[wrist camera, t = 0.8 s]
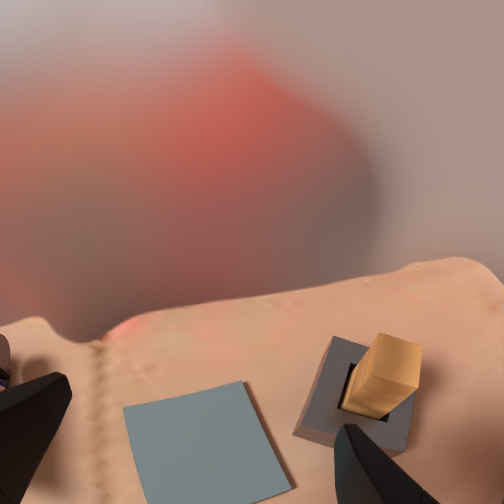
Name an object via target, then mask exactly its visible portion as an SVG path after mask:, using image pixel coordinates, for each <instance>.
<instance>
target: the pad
mask: <svg viewBox="0 0 504 504" xmlns="http://www.w3.org/2000/svg"><path fill="white" fill-rule="evenodd" d="M123 411H124V416H125V421H126V426H127V431H128V435H129V440H130V444H131V448H132V452H133V456H134V460H135V464H136V467H137V471H138V475H139V478H140V481H141V485H142V488H143V491H144V494H145V497H146V500H147V503H148V504H251V503H254V502H257V501H260V500H263V499H266V498H269V497H272V496H274V495H277V494H280V493H282V492H285V491H288V490H290V489H292V488H291V486H290V484H289V482H288V480H287V478H286V476H285V474H284V472H283V470H282V468H281V466H280V464H279V462H278V460H277V458H276V456H275V454H274V451H273V449H272V447H271V445H270V443H269V441H268V439H267V437H266V435H265V432H264V430H263V428H262V426H261V424H260V421H259V419H258V417H257V415H256V413H255V410H254V408H253V406H252V404H251V401H250V399H249V397H248V394H247V392H246V390H245V387H244V385H243V383H242V380H240V381H237V382H234V383H230V384H227V385H223V386H219V387H216V388H212V389H208V390H204V391H200V392H196V393H192V394H188V395H183V396H179V397H175V398H170V399H165V400H160V401H155V402H150V403H144V404H139V405H133V406H127V407H123Z"/></svg>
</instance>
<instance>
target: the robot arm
mask: <svg viewBox="0 0 504 504" xmlns="http://www.w3.org/2000/svg"><path fill="white" fill-rule="evenodd" d="M71 399H72V391H71V388H70V385H69V382H68V379H67V377H66V375H64V374H61V373H59V372H53V373H51V374H48V375H45V376H43V377H40V378H37V379H34V380H31V381H29V382H26V383H23V384H20V385H17V386H14V387H11V388H8V389H5V390H2V391H0V504H20V503H21V501H22V499H23V496H24V494H25V492H26V490H27V488H28V486H29V484H30V482H31V480H32V478H33V476H34V474H35V472H36V470H37V468H38V466H39V464H40V462H41V460H42V458H43V456H44V454H45V453H46V451H47V449H48V447H49V445H50V443H51V441H52V440H53V438H54V436H55V434H56V432H57V430H58V428H59V426H60V424H61V421H62V419H63V417H64V414H65V412H66V410H67V408H68V405H69V403H70V401H71ZM334 464H335V488H336V495H337V502H338V504H440V503H439V502H438V501H437V500H436V499H434V498H433V497H432V496H431V495H430V494H429V493H427V492H426V491H425V490H423V488H422V487H421V486H420V485H419V484H418V483H416V482H415V481H414V480H413V479H412V478H411V477H410V476H409V475H408V474H407V473H406V472H405V471H404V470H403V469H402V468H400V467H399V466H398V465H397V464H396V463H395V462H394V461H393V460H392V459H391V458H390V457H389V456H388V455H387V454H386V453H385V452H384V451H383V450H382V449H381V448H380V447H379V446H378V445H377V444H376V443H375V442H374V441H373V440H372V439H371V438H370V437H369V436H368V435H367V434H366V433H365V432H364V431H363V430H362V429H361V428H360V427H359V426H358V425H357V424H355V423H345V424H342V425H341V427H340V429H339V432H338V434H337V436H336V438H335V441H334Z"/></svg>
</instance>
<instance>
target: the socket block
mask: <svg viewBox="0 0 504 504" xmlns="http://www.w3.org/2000/svg"><path fill="white" fill-rule="evenodd" d="M368 349H369V347H366V346H363V345H360V344H357V343H354V342H351V341H348V340H345V339H342V338H339V337H336V336H333V337H332V339H331V341H330V343H329V345H328V347H327V349H326V351H325V353H324V355H323V358H322V361H321V364H320V366H319V369H318V372H317V375H316V377H315V380H314V383H313V385H312V388H311V390H310V393H309V396H308V398H307V401H306V403H305V406H304V408H303V410H302V413H301V415H300V418H299V420H298V422H297V425H296V427H295V429H294V432H293V434H292V435H294V436H297V437H300V438H303V439H306V440H309V441H312V442H315V443H319V444H322V445H325V446H329V447H332V448H334V441H335V438H336V436H337V434H338V432H339V429H340V427H341V425H342V424H345V423H355V424H357V425H358V426H359V427H360V428H361V429H362V430H363V431H364V432H365V433H366V434H367V435H368V436H369V437H370V438H371V439H372V440H373V441H374V442H375V443H376V444H377V445H378V446H379V447H380V448H381V449H382V450H383V451H384V452H385V453H386V454H387V455H388V456H389V457H390V458H391V457H394V456H396V455H398V454H401V453H403V452H405V448H406V444H407V439H408V434H409V429H410V424H411V418H412V412H413V406H414V399H415V392H416V390H415V391H414V392H413V393H412V394H411V395H410V396H408V397H407V398H406V399H405V400H404V401H402V402H401V403H400V404H399V405H397V406H396V407H395V408H394V409H392V410H391V411H390V412H388V413H387V414H386V415H384V416H383V417H382V418H380V419H379V420H374V419H371V418H367V417H363V416H360V415H356V414H353V413H349V412H346V411H343V410H339V409H337V406H338V403H339V400H340V396H341V393H342V390H343V387H344V383H345V381H346V379H347V378H348V377H349V375H350V374H351V373H352V371H353V370H354V369H355V367H356V366H357V365H358V363H359V362H360V360H361V359H362V358H363V356H364V355H365V353H366V352H367V351H368Z"/></svg>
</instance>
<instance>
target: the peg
mask: <svg viewBox="0 0 504 504" xmlns="http://www.w3.org/2000/svg"><path fill="white" fill-rule="evenodd" d="M421 352H422V346H421V345H418V344H415V343H411V342H408V341H405V340H402V339H399V338H396V337H392V336H389V335H386V334H383V333H379V334H378V336H377V337H376V339H375V340H374V342H373V343H372V345H371V346H370V348H369V349H368V351H367V352H366V353H365V355H364V356H363V358H362V359H361V360H360V362H359V363H358V365H357V366H356V367H355V369H354V370H353V371H352V373H351V374H350V375H349V377H348V378H347V379H346V381H345V383H344V387H343V390H342V393H341V396H340V400H339V403H338V406H337V409H339V410H343V411H346V412H349V413H353V414H356V415H360V416H363V417H367V418H371V419H374V420H379V419H380V418H382V417H383V416H384V415H386V414H387V413H388V412H390V411H391V410H392V409H394V408H395V407H396V406H397V405H399V404H400V403H401V402H402V401H404V400H405V399H406V398H407V397H408V396H410V395H411V394H412V393H413V392H414V391H415V390H417V389H418V386H419V377H420V366H421Z"/></svg>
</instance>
